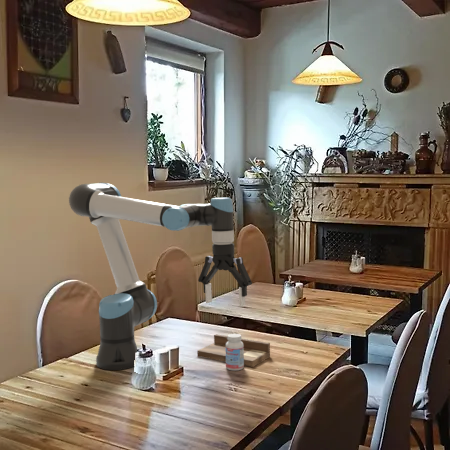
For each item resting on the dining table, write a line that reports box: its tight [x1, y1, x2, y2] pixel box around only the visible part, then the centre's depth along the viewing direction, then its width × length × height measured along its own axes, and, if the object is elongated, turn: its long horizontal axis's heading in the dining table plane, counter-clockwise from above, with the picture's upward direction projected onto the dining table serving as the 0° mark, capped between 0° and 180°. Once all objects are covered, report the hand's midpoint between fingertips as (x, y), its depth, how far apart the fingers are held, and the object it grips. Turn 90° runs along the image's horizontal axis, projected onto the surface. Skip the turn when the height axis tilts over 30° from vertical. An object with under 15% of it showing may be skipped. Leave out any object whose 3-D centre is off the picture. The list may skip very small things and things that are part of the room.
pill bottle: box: [225, 333, 245, 372], centre depth 197 cm, size 6×6×11 cm
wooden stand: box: [196, 333, 271, 367], centre depth 210 cm, size 12×23×5 cm, turn 56°
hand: (225, 304), depth 203 cm, fingers open, 13 cm apart
